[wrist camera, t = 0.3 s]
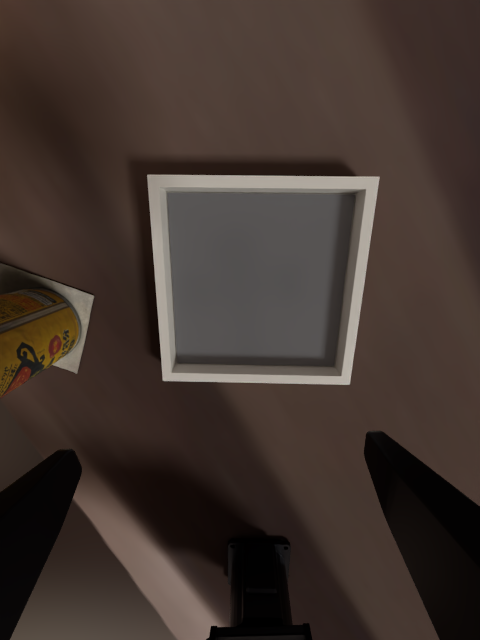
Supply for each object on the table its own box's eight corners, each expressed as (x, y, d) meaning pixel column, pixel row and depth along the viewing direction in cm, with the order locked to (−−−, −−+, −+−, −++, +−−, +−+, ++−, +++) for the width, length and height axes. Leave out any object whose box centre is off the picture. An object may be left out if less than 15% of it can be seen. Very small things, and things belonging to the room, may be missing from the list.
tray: (340, 371, 23) (349, 384, 21) (170, 367, 23) (162, 380, 21) (364, 183, 19) (379, 176, 17) (158, 181, 19) (147, 174, 17)
